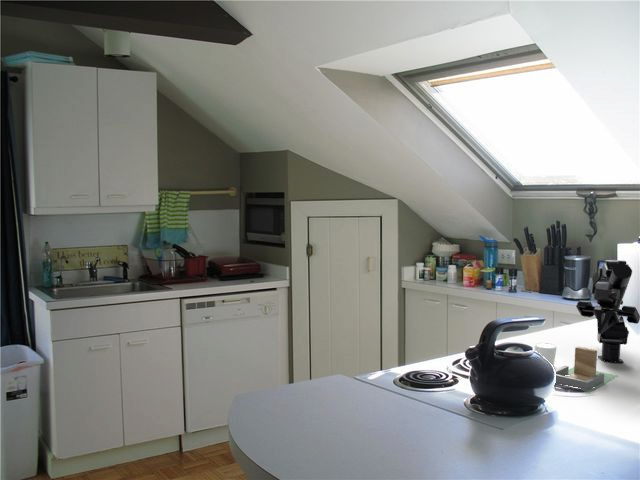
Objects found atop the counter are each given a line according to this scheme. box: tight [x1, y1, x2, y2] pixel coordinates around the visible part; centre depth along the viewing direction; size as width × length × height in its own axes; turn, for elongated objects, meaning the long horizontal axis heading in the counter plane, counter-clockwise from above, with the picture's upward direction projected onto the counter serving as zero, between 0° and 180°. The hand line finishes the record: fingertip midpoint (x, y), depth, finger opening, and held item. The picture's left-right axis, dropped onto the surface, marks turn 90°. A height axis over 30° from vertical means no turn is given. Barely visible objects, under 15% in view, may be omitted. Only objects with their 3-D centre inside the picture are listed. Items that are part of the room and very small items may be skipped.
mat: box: [556, 366, 619, 393], centre depth 213 cm, size 22×14×1 cm, turn 136°
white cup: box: [534, 342, 557, 366], centre depth 226 cm, size 7×7×7 cm
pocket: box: [554, 365, 604, 392], centre depth 209 cm, size 12×12×2 cm
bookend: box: [567, 346, 598, 381], centre depth 210 cm, size 11×6×9 cm, turn 136°
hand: (599, 333), depth 219 cm, fingers closed
